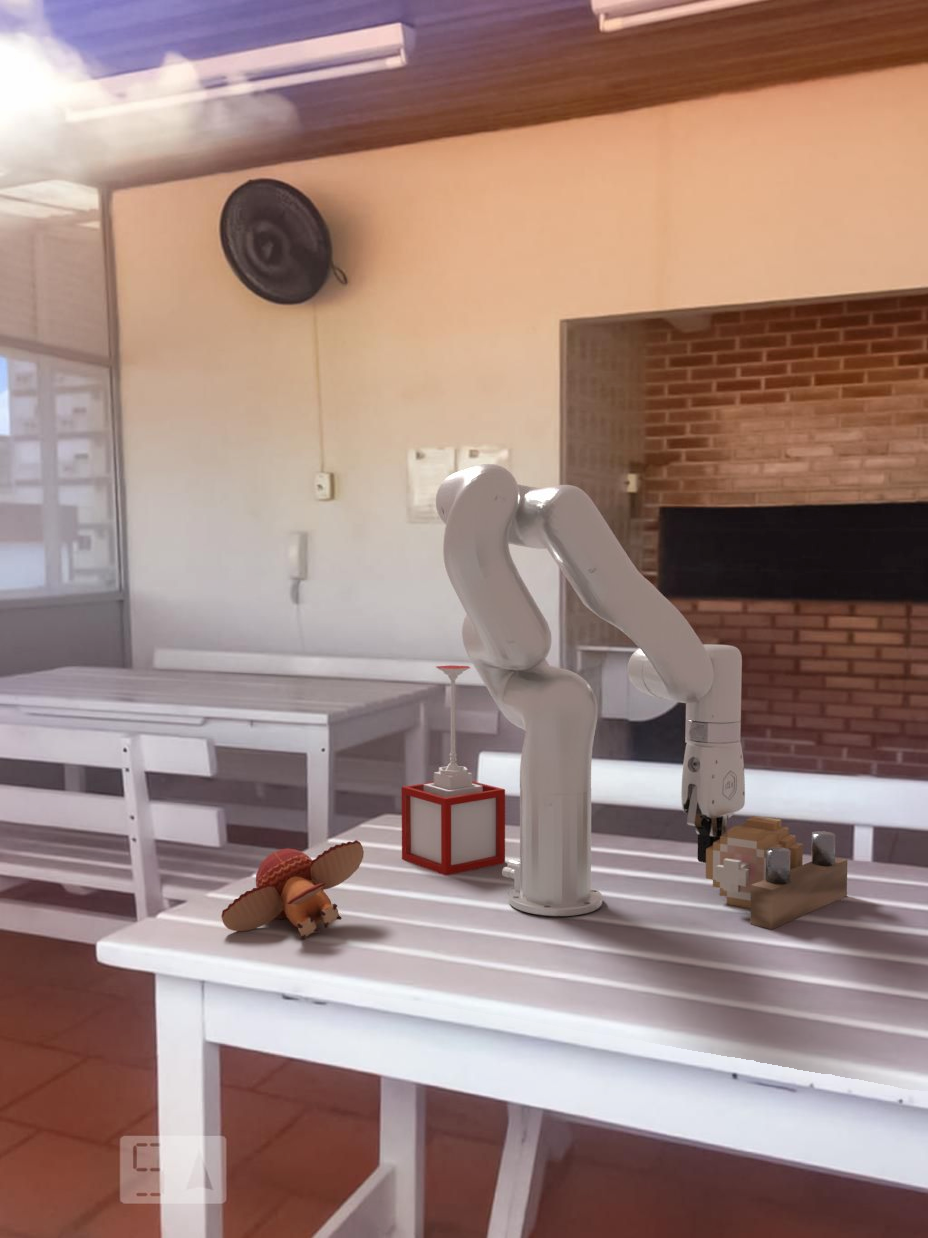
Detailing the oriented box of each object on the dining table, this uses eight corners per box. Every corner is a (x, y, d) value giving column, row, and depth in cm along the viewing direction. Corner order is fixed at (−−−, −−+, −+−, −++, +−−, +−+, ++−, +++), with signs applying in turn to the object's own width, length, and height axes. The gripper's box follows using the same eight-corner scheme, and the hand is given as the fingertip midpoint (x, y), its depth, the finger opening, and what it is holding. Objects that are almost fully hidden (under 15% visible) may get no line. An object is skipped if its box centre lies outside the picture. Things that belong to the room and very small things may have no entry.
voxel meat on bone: (810, 887, 153) (811, 817, 153) (768, 921, 138) (769, 843, 138) (742, 876, 159) (742, 808, 158) (694, 907, 144) (694, 833, 144)
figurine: (397, 910, 138) (349, 857, 150) (380, 854, 134) (332, 805, 147) (256, 989, 130) (218, 927, 143) (234, 933, 127) (196, 874, 139)
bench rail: (750, 923, 137) (751, 853, 137) (826, 891, 151) (827, 827, 151) (771, 929, 135) (772, 858, 135) (846, 895, 149) (847, 830, 149)
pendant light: (460, 847, 175) (459, 662, 174) (505, 862, 166) (505, 667, 165) (401, 859, 168) (401, 666, 167) (445, 875, 159) (445, 672, 158)
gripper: (708, 741, 144) (705, 878, 145) (763, 730, 155) (760, 857, 156) (660, 735, 149) (657, 867, 150) (717, 725, 160) (714, 848, 161)
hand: (710, 862), depth 153 cm, fingers closed
